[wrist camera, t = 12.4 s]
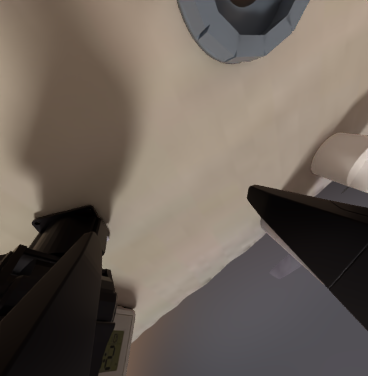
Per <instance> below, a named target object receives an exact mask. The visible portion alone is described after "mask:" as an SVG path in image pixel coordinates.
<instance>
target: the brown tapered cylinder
mask: <svg viewBox="0 0 368 376" xmlns="http://www.w3.org/2000/svg"><path fill="white" fill-rule="evenodd" d="M230 1H231V2H232V3H233V4H234V5H236V6H238V7H247V6H249V5H251V4H252V3H253V2H255V1H256V0H230Z"/></svg>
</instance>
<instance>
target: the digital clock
mask: <svg viewBox="0 0 368 376" xmlns="http://www.w3.org/2000/svg"><path fill="white" fill-rule="evenodd" d="M113 322H115V328H114V330H113V332H112V334H111V336H110V339H109V341H108V343H107V346H106V349H105V352H104V355H103V358H102V362H101V366H100V370H99V374H98V376H126V372H127V365H128V359H129V353H130V346H131V340H132V334H133V328H134V322H135V311H134V310H132V309H127V308H123V306H117V309H116V314H115V318H114V321H113Z"/></svg>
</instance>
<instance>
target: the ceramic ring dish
mask: <svg viewBox="0 0 368 376" xmlns="http://www.w3.org/2000/svg"><path fill="white" fill-rule="evenodd" d="M309 1H310V0H256V1H255V2H253V3H252V4H251V5H249V6H247V7H238V6H236V5H234V4H233V3H232V2H231V1H230V0H177V3H178V7H179V10H180V12H181V15H182V18H183V20H184V22H185V24H186V26H187V28H188V31H189V32H190V34H191V36H192V37H193V39H194V40H195V42H196V43H197V44H198V46H199V47H200V48H201V49H202V50H203V51H204V52H205V53H206V54H207V55H209V56H210V57H211V58H213V59H215V60H217V61H219V62H222V63H226V64H237V63H241V62H250V61H253V60H255V59H258V58H260V57H263V56H265V55H267V54H268V53H269V52H270V51H272V50H273V49H274V48H275V47H276V46H277V45H279V44H280V43H281V42H282V41H283V40H284V39H286V38H287V37H288V36H289V35H290V34H291V33H292V31H294V29H295V27H296V25H297V24H298V22H299V20H300V18H301V16H302V14H303V12H304V10H305V8H306V6H307V5H308V3H309Z"/></svg>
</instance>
